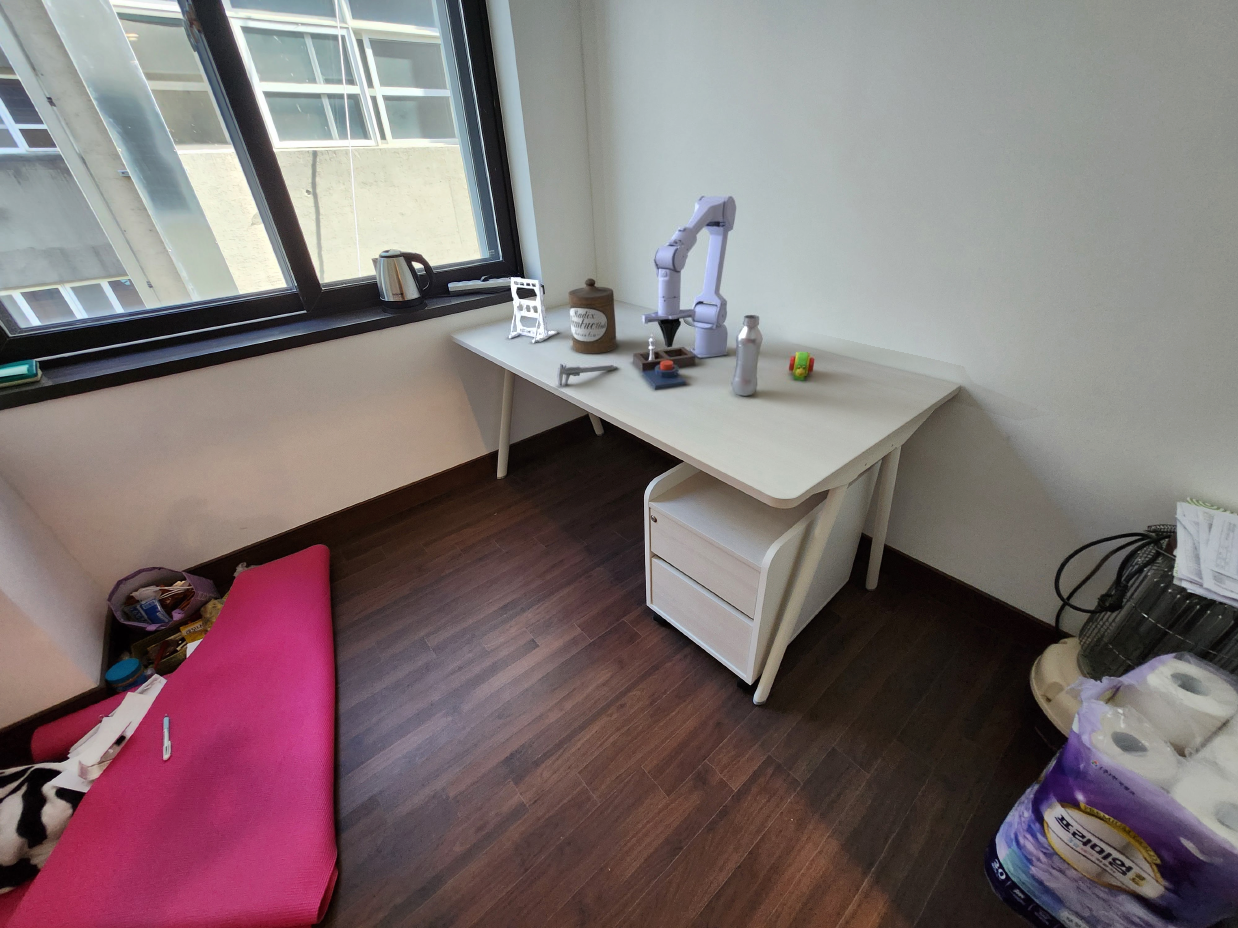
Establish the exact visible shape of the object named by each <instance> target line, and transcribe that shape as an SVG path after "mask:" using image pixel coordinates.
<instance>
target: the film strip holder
mask: <svg viewBox="0 0 1238 928" xmlns="http://www.w3.org/2000/svg"><path fill="white" fill-rule="evenodd" d="M516 282H517V283H518V284H516ZM521 283H523V285H521ZM527 284H529V286H528V285H527ZM533 284H535V286H533ZM510 288H511V290H510V291H511V296H512V299H513V301H512V302H513V303H512V304H513V310H514V312H513V316H512V317H513V318H512V321H511V327H510V334H509V335H508V339H511V340H512V339H513V338H517V337H518V336H520V335H521V336H528V337H533V340H531V342H532V344H536V343H538V342H543V341H545V340H547V339H548V338H550V337H553V336H555V335H558V331H557V330H549V329H548V324H547V323H548V322H546V320H545V319H547V314H546V306H545V305H544V301H545V297H544V290H543V286H542V285H541V279H530V278H529V279H528V278H519V277H513V276H512V277H510ZM518 288H525V289H532V290H534V292H535V294H536V299H535V300H529V299H522V298H521V299H520V298H519V296H518V295H517V290H518ZM520 305H522V310H520V309H521V308H520ZM527 306H529V308H530V311H528V309H527ZM534 307H537V312H535V309H534ZM522 317H529V318H535V319H537V321H536V326H535V327H525V326H523V324H522V322H521V318H522ZM515 323H516V330H517V331H514V328H515V327H514V326H515ZM539 324H540V325H539Z"/></svg>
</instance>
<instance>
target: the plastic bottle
mask: <svg viewBox="0 0 1238 928" xmlns="http://www.w3.org/2000/svg"><path fill="white" fill-rule="evenodd" d="M742 325H743V326H742V328H740V330H739V331H738V332H737V334H736V336H735V349H736V350H735V351H736V357H735V358H736V359H735V367H734V371H733V377H732V379H731V380H732V381H731V389H732V391H733V393H734V394H736V395H739V396H744V397H745V396H752V395H754V393H756V391H757V388H758V362H759V356H760V352H761V348H762V344H763V339H764V338H763V335H762V332H761V330H760V329H759V326H760V316H759V315H756V314H747V315H744V316H743V322H742Z"/></svg>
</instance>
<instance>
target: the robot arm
mask: <svg viewBox="0 0 1238 928" xmlns="http://www.w3.org/2000/svg"><path fill="white" fill-rule="evenodd" d="M736 214H737V204H736V200H735V198H734V197H733V195H728V196H705V195H701V196H699V197H698V199H697V200H696V201H695V204H694V212H693V215H692V216H691V218H690V219H689V221H688V223H687V224H686V225H683V226H679V227H678V228H677V230H676V231H675V233H674V234H673V236H672V237H671V238H670V239H669V241H668V242H667V243H666V244H665V245H661V246H660V247H658V248H657V249H656V251H655V254H654V258H653V264H654V268H655V270H656V277H657V278H658V305H657V307H658V308H657V309H658V311H654V312H650V313H646V314H642V316H641V321H642V323H643V324H644V325H648V324H649V323H657V325H658V326H659V329H660V332H661V334H662V337H663V341H664V346H665V347H666V349H669V348H673V344H674V340H675V338H676V335H677V332H678V331H679V329H680V327H681V324H682V321H681V319H691V322H692V323H693V325H694V326H695V344H694V348H691V349H690V350H689V351H690V352H691V353H692V354H694V355H695V357H697V358H699V359H704V358H706V359H707V358H713V357H720V356H727V355H728V352H727V348H728V347H727V346H728V336H729V335H728V328H727V326H726V325H725V322H726V320H727V316H728V310H727V309H728V301H727V299H726V298H725V297H724V296H723V295H722V294H721V292H720V291H721V284H722V279H723V278H722V277H723V271H724V265H725V259H726V251H727V245H728V240H729V239H728V236H729V232H731V231H733V230H734V226H735V221H736ZM703 229H704V230H706V231H708V233H709V242H708V248H707V257H706V264H705V272H704V280H703V287H702V292H700V293H699V294H698V295H696V296H695V297H694V299H693V304H692V307H691V308H689V309H687V308H684V309H682V308H681V288H682V287H681V284H682V271H683V270H684V269H685V266H686V264H687V263H686V262H687V259H688V257H689V253H690V252H691V251H692V249H693V248H694V246H696V244H697V241H698V235H699V233H700V232H701V231H702V230H703Z"/></svg>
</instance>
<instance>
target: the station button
mask: <svg viewBox="0 0 1238 928" xmlns="http://www.w3.org/2000/svg"><path fill="white" fill-rule="evenodd" d="M660 369H661V370H667V371H668V370H672V369H673V361H670V360H664V361H661V363H660Z"/></svg>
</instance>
